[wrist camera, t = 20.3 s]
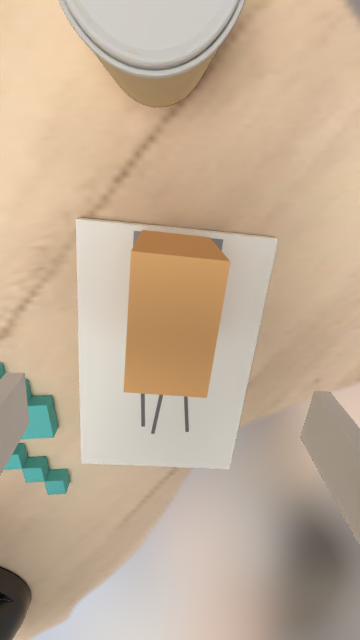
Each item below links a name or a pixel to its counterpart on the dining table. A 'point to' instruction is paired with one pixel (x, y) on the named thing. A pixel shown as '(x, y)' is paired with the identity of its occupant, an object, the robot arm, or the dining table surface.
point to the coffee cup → (154, 41)
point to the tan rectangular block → (173, 313)
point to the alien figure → (39, 427)
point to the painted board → (110, 349)
